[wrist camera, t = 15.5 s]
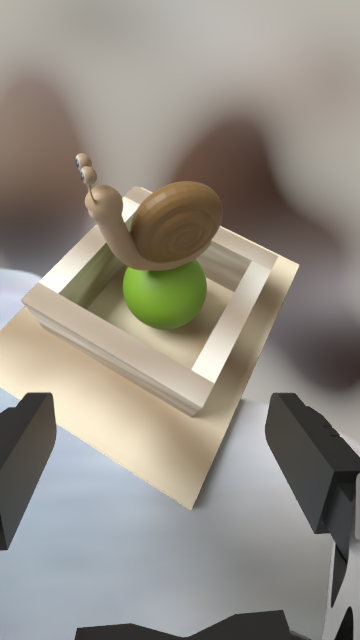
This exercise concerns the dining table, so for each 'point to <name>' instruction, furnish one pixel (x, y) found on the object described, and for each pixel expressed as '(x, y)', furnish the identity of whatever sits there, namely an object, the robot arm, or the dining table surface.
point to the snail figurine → (158, 246)
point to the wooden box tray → (145, 355)
